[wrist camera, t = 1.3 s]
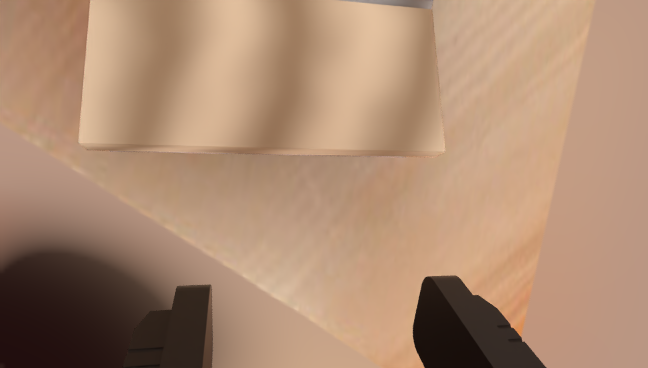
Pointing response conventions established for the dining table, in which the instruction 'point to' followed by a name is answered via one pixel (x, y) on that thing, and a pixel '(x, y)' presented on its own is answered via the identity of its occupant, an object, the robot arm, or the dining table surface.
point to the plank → (261, 78)
